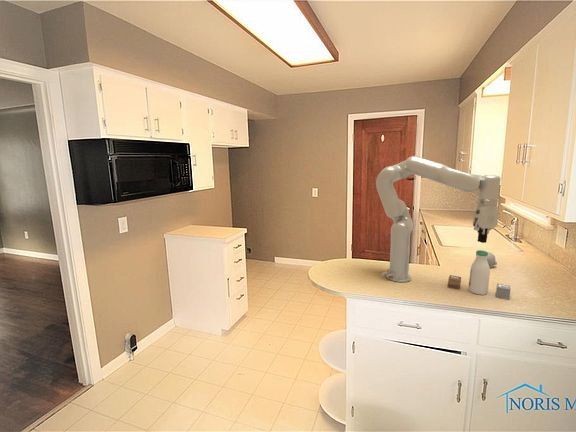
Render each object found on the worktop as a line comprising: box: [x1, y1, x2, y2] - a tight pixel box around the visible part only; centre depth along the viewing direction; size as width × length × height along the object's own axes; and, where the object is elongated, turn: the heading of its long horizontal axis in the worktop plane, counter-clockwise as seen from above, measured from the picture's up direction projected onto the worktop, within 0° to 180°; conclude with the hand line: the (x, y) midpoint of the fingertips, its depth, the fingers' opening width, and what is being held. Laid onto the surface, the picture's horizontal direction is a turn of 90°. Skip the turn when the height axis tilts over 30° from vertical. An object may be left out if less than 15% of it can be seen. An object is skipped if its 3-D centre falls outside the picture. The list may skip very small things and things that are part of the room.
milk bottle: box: [468, 249, 491, 296], centre depth 141 cm, size 8×8×20 cm
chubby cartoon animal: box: [487, 251, 498, 269], centre depth 173 cm, size 7×12×8 cm, turn 109°
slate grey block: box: [495, 282, 511, 301], centre depth 137 cm, size 5×5×5 cm
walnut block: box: [447, 274, 462, 291], centre depth 148 cm, size 5×5×5 cm
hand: (481, 241), depth 138 cm, fingers closed
